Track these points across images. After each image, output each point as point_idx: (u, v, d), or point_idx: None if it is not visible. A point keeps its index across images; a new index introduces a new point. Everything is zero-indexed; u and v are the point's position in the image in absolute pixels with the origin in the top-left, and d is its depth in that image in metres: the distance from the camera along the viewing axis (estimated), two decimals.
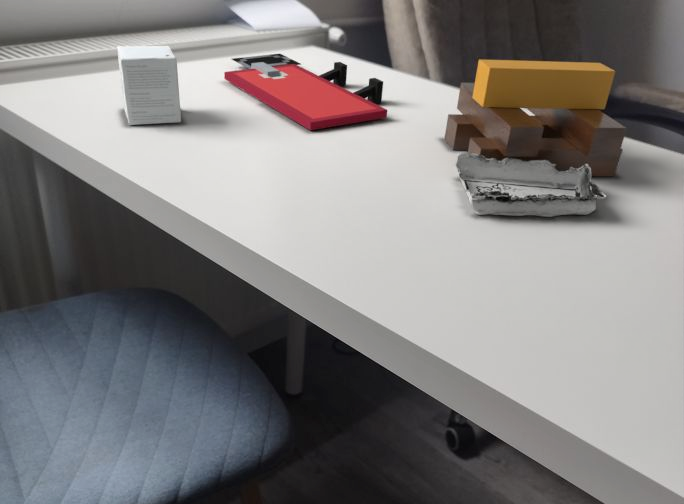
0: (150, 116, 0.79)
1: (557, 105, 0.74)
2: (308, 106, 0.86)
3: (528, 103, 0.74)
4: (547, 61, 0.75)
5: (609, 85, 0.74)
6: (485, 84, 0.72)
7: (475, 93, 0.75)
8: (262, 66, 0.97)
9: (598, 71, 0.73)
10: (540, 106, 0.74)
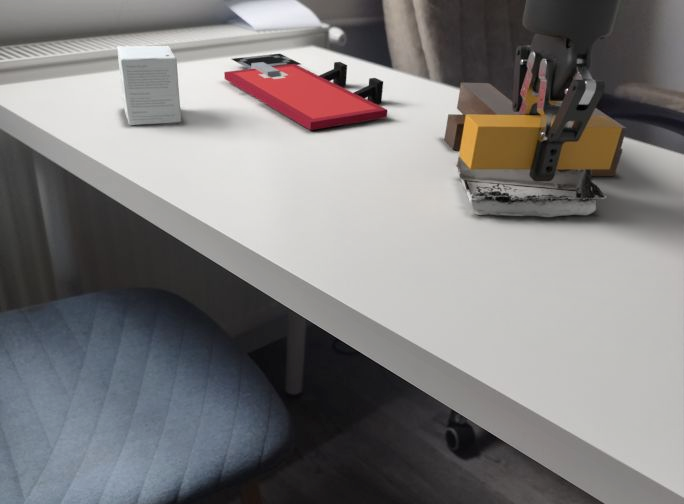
0: (150, 116, 0.79)
1: None
2: (308, 106, 0.86)
3: (522, 164, 0.64)
4: None
5: (615, 143, 0.65)
6: (473, 144, 0.63)
7: (462, 152, 0.66)
8: (262, 66, 0.97)
9: (602, 128, 0.64)
10: None
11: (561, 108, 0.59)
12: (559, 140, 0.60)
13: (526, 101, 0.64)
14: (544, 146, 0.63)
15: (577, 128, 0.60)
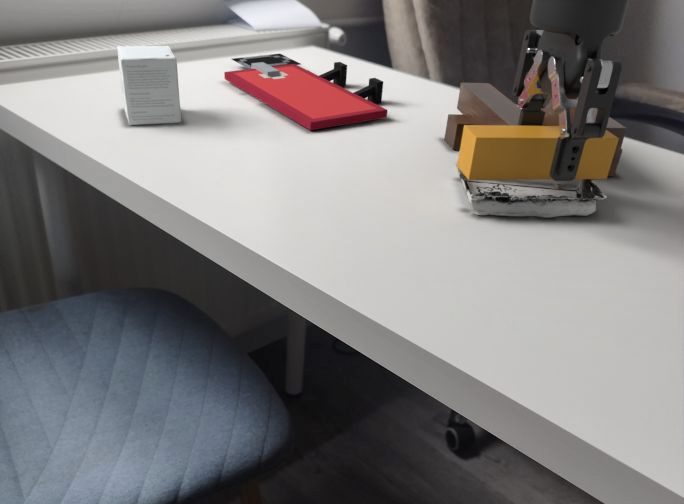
0: (150, 116, 0.79)
1: None
2: (308, 106, 0.86)
3: (520, 174, 0.65)
4: None
5: (612, 153, 0.65)
6: (471, 155, 0.63)
7: (460, 162, 0.66)
8: (262, 66, 0.97)
9: (599, 139, 0.64)
10: (534, 177, 0.65)
11: (579, 97, 0.56)
12: (583, 136, 0.57)
13: (528, 92, 0.64)
14: (565, 143, 0.59)
15: (601, 119, 0.56)
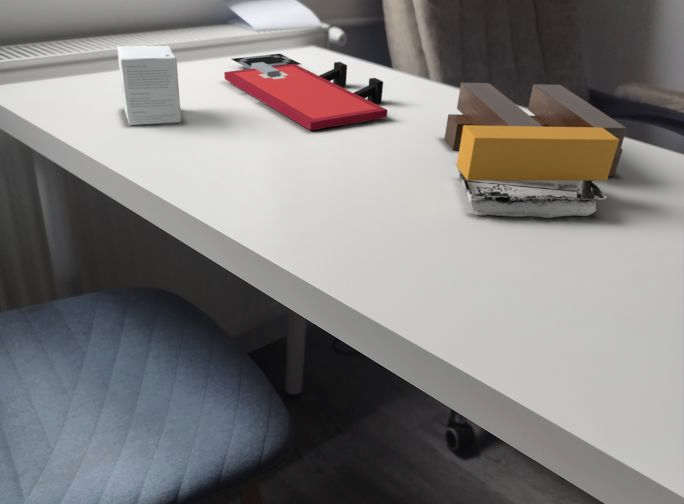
0: (150, 116, 0.79)
1: (552, 177, 0.65)
2: (308, 106, 0.86)
3: (519, 175, 0.65)
4: None
5: (612, 155, 0.65)
6: (470, 155, 0.63)
7: (459, 162, 0.66)
8: (262, 66, 0.97)
9: (599, 140, 0.64)
10: (533, 178, 0.65)
11: None
12: None
13: None
14: None
15: None
